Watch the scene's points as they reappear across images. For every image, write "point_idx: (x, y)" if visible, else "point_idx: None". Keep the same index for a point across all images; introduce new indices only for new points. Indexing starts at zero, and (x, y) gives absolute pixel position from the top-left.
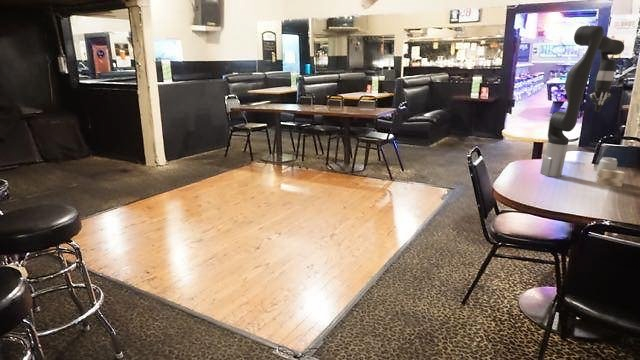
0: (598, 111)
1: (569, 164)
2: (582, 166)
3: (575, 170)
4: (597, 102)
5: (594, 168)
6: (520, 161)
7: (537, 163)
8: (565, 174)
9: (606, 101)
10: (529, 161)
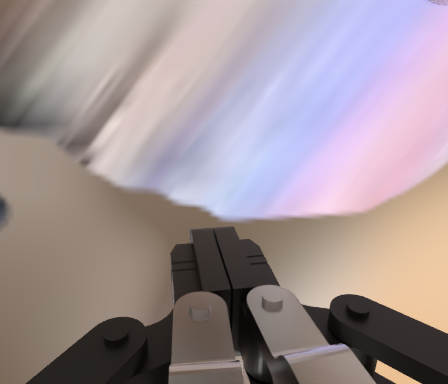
0: (212, 228)
1: (224, 143)
2: (182, 106)
3: (276, 31)
4: (335, 315)
5: (143, 65)
6: (407, 188)
7: (361, 158)
8: None
9: (82, 369)
10: (370, 190)
